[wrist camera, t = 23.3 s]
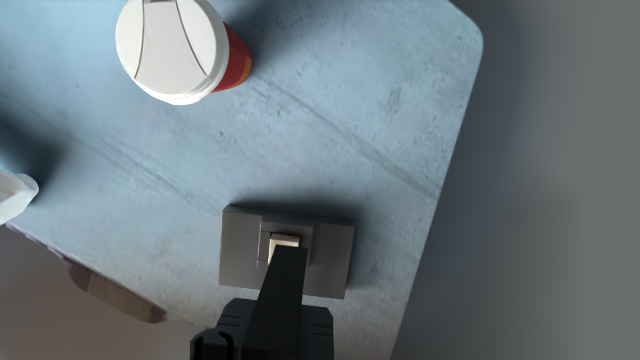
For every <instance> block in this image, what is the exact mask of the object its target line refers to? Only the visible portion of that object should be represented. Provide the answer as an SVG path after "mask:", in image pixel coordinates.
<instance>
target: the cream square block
mask: <svg viewBox="0 0 640 360" xmlns="http://www.w3.org/2000/svg"><path fill="white" fill-rule="evenodd" d="M299 240H300V236H294V235H285V234H277V233H273V234H272V236H271V239H270V248H269V259H268V265H269V263H270V260H271V257H272V254H273V251H274V248H275V245H276V244H280V245H288V246H296V247H299Z"/></svg>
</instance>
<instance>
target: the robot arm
mask: <svg viewBox="0 0 640 360" xmlns="http://www.w3.org/2000/svg"><path fill="white" fill-rule="evenodd" d="M307 254H308V248H305V247H296V246H288V245H280V244H276V245H275V248H274V251H273V254H272V257H271V260H270V263H269V266H268V269H267V272H266V275H265V278H264V281H263V284H262V287H261V290H260V293H259V296H258V299H257V300H250V299H242V298H234V299H233V300H231V301H230V302H229V303H228V304H227V305H225V308H224V310H223V312H222V314H221V317H220V318H219V320H218V322H217V325H216V327H215V328H211V329H207V330H204V331H202V332H200V333H198V334H197V335H195V336H194V338H193V339H192V340H191V341H190V360H334V342H333V316H332V315H331V313H330V311H329V310H328V308H326V307H318V306H309V305H301V304H302V295H303V287H304V279H305V271H306V263H307Z"/></svg>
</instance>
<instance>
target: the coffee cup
mask: <svg viewBox="0 0 640 360" xmlns="http://www.w3.org/2000/svg"><path fill="white" fill-rule="evenodd" d="M115 40H116V48H117V52H118V55H119V58H120V60H121V63H122V65H123V66H124V68H125V70H126V71H127V73H128V74H129V75H130V77H131V78H132V79H133V80H134V81H135V82H136V83H137V84H138V85H139V86H140V87H141V88H142V89H143V90H145V91H146V92H147V93H149V94H150V95H152V96H154V97H156V98H158V99H161V100H164V101H166V102H169V103H171V104H173V105H186V104H192V103H195V102H198V101H200V100H201V99H202V98H203V97H205V96H206V95H207V94H209V93H213V92H217V91H222V90H226V89H230V88H233V87H236V86H238V85H240V84H241V83H242V82H244V81H245V79H246V78H247V77H248V75H249V73H250V70H251V66H252V58H251V53H250V50H249V48H248V46H247V45H246V43H245V42H244V41H243V40H242V39H241V38H240V37H239V36H238V35H237V34H236V33H235V32H234V31H233V30H232V29H231V28H230V27H229V26H228V25H226V24H225V23H224V22H223V21H222V20H221V18H220V16H219V15H218V13H217V12H216V10H215V9H214V8H213V7H212V6H211V4H210V3H209V2H208V1H206V0H129V2H128V3H127V4H126V5H125V6H124V8H123V10H122V11H121V13H120V15H119V18H118V21H117V25H116V33H115Z"/></svg>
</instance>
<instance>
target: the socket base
mask: <svg viewBox="0 0 640 360" xmlns="http://www.w3.org/2000/svg"><path fill="white" fill-rule="evenodd" d="M354 232H355V224H354V220H348V219H339V218H331V217H323V216H314V215H306V214H298V213H290V212H281V211H273V210H265V209H256V208H248V207H240V206H231V205H227V206H226V207H225V208H224V209H223V210H222V223H221V243H220V263H219V283H218V284H219V285H225V286H233V287H242V288H250V289H259V290H261V287H262V284H263V281H264V278H265V275H266V272H267V269H268V266H269V265H268V259H269V248H270V239H271V236H272V234H273V233H277V234H285V235H294V236H300V240H299V247H305V248H308V254H307V263H306V271H305V279H304V287H303V295H310V296H318V297H326V298H335V299H344V295H345V289H346V283H347V276H348V270H349V264H350V257H351V251H352V244H353V238H354Z"/></svg>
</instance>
